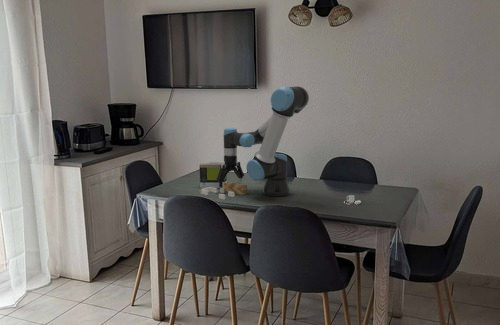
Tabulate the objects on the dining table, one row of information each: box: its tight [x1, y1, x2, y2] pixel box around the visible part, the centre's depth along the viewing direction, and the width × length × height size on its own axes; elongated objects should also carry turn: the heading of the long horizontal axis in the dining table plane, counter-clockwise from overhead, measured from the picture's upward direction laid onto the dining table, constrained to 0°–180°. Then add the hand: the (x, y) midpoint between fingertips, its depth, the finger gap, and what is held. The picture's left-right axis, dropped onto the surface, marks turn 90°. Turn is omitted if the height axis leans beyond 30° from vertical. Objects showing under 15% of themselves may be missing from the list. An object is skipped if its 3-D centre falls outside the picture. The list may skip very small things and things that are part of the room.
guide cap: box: [218, 191, 236, 201], centre depth 273 cm, size 4×8×2 cm, turn 137°
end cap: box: [199, 187, 219, 196], centre depth 283 cm, size 6×8×2 cm
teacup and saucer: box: [343, 194, 362, 205], centre depth 262 cm, size 9×8×4 cm
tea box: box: [199, 161, 228, 189], centre depth 298 cm, size 15×10×15 cm, turn 84°
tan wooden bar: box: [224, 181, 248, 196], centre depth 286 cm, size 16×4×5 cm, turn 50°
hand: (230, 190), depth 288 cm, fingers open, 13 cm apart
